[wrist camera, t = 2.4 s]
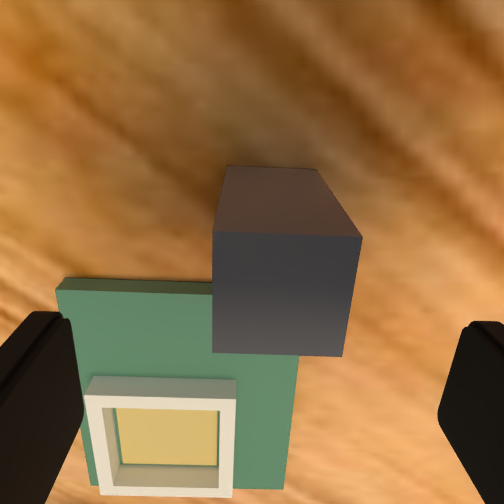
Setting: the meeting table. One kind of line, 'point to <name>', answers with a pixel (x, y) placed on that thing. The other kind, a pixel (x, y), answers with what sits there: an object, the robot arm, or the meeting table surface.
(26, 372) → the robot arm
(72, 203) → the meeting table surface
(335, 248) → the plug
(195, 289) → the board
